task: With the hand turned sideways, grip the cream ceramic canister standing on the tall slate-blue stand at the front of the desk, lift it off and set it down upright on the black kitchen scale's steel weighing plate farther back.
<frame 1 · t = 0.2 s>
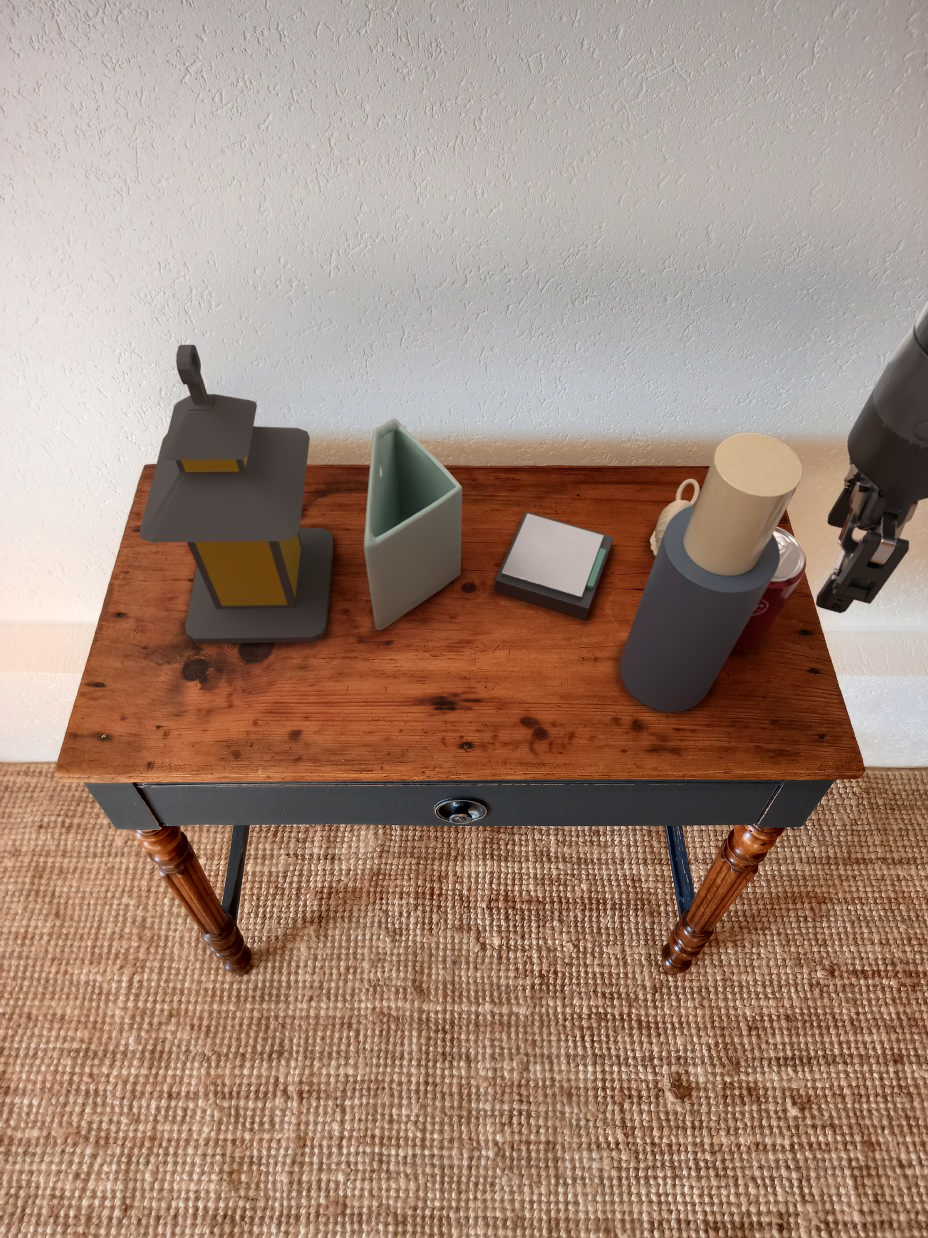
hand: (834, 563, 63), 19 cm above the table, tool pointing down, fingers open, 8 cm apart
lantern: (263, 587, 85), on the table
planter: (423, 571, 86), on the table
stand: (664, 671, 79), on the table
soda can: (729, 624, 83), on the table
decorative ornament: (673, 540, 89), on the table
scale: (553, 570, 86), on the table
canister: (721, 545, 63), point 20 cm above the table, touching stand
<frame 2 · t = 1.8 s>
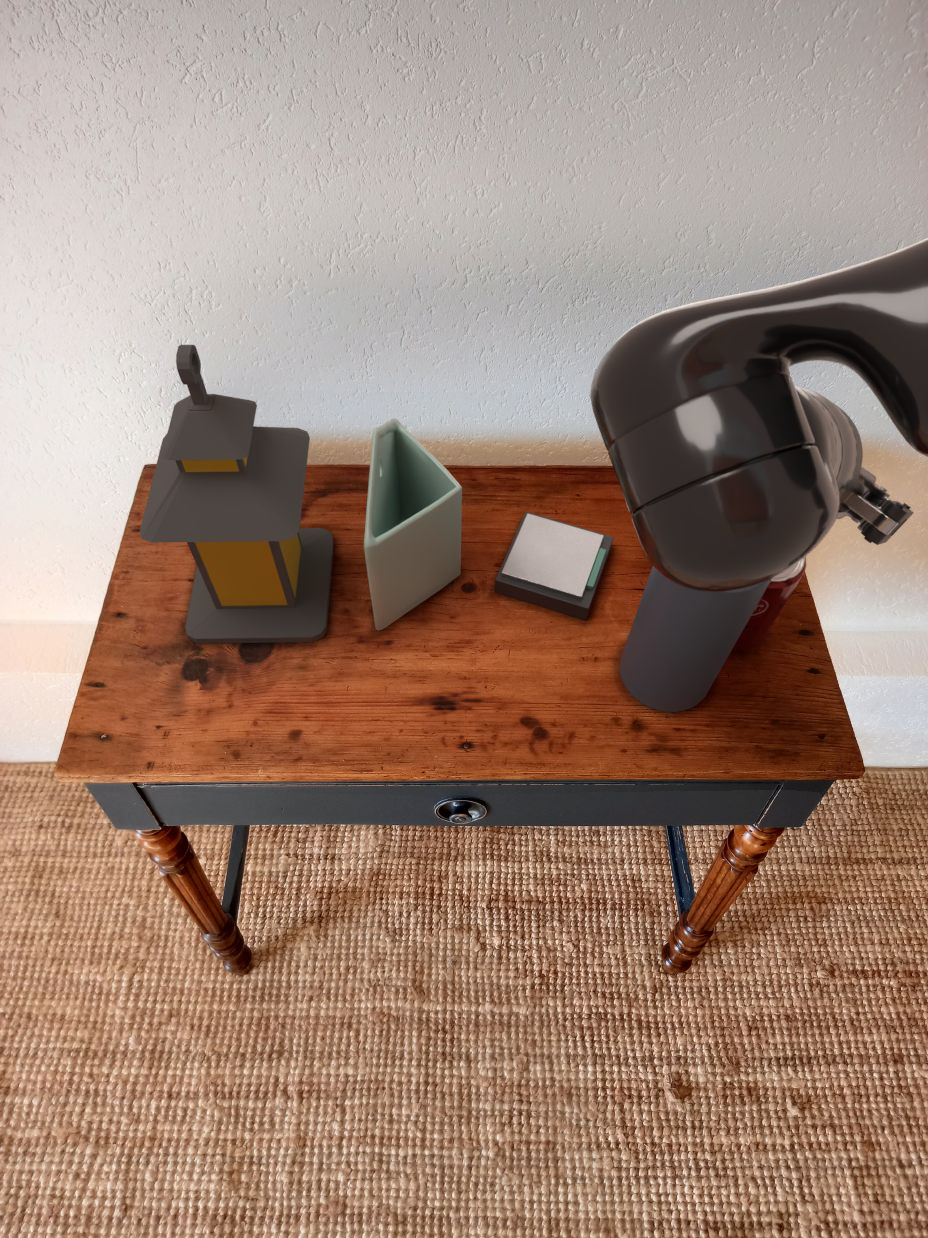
hand: (818, 462, 58), 27 cm above the table, tool tilted 50°, fingers open, 8 cm apart
canister: (723, 541, 62), point 20 cm above the table, tilted 9°, touching gripper, stand
everything else where it was.
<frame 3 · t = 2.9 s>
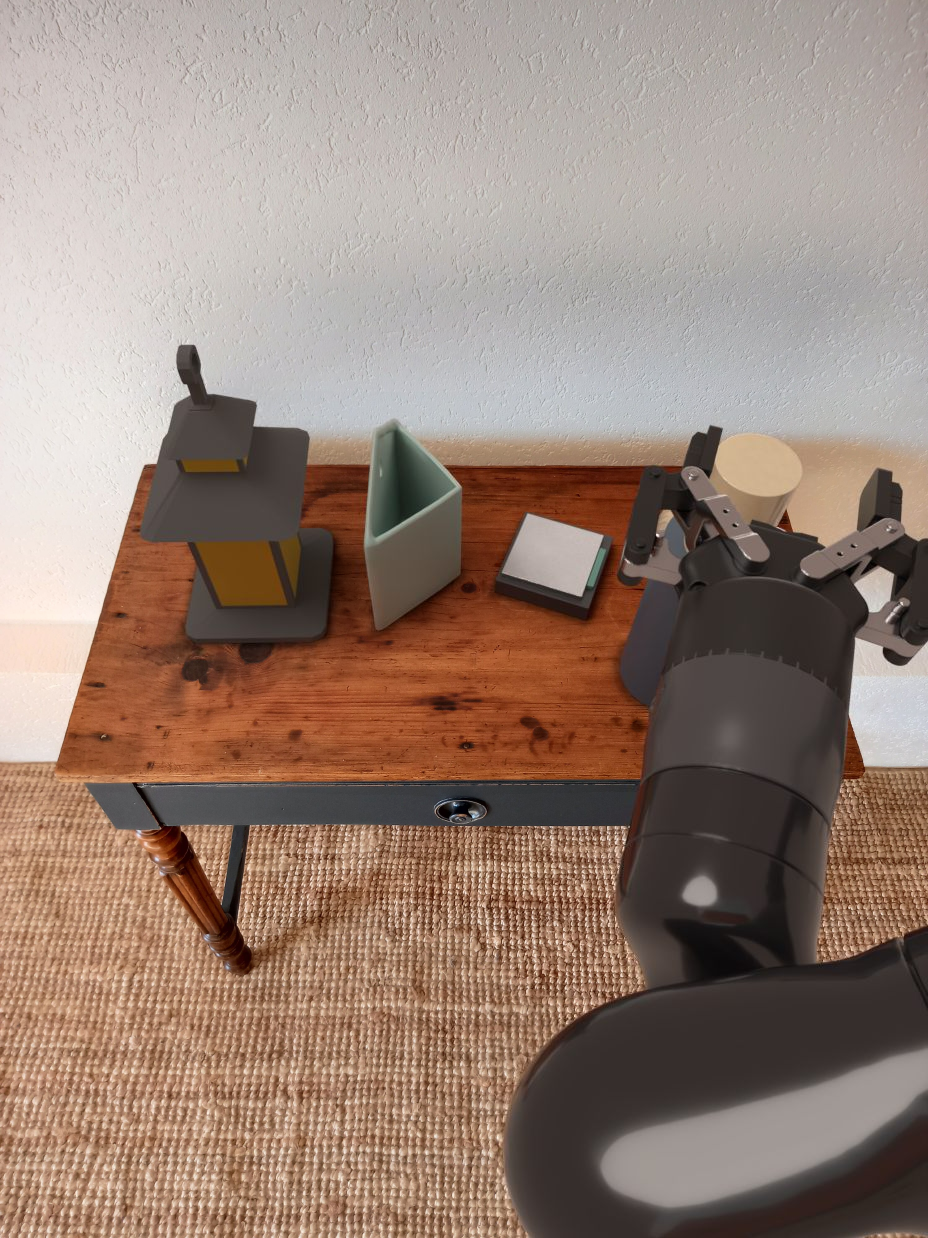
hand: (792, 458, 42), 39 cm above the table, tool horizontal, fingers open, 8 cm apart
canister: (721, 545, 63), point 20 cm above the table, touching stand
everything else where it was.
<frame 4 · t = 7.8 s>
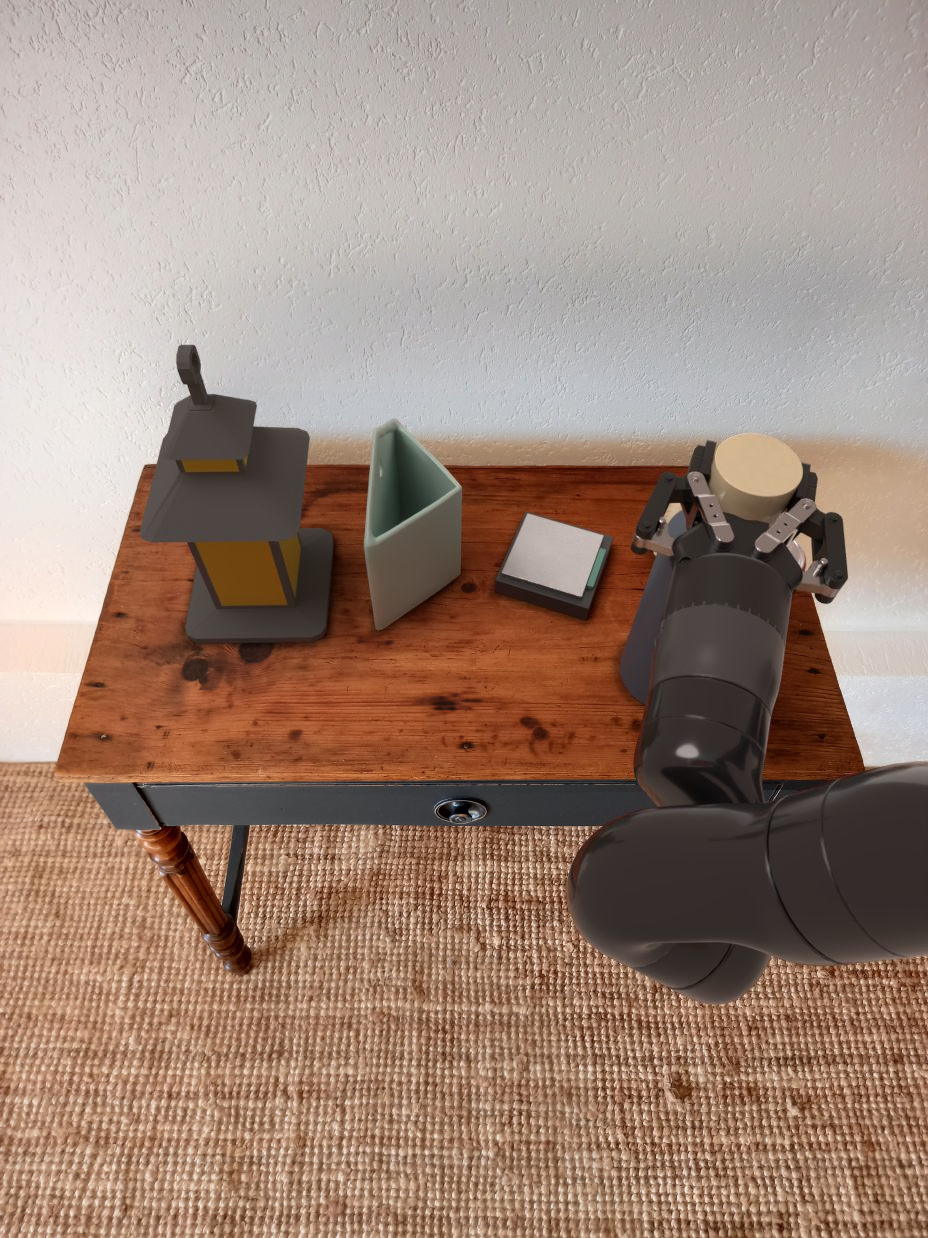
hand: (753, 460, 58), 27 cm above the table, tool horizontal, fingers closed on canister, 6 cm apart
canister: (721, 545, 63), point 20 cm above the table, touching gripper, stand
everything else where it was.
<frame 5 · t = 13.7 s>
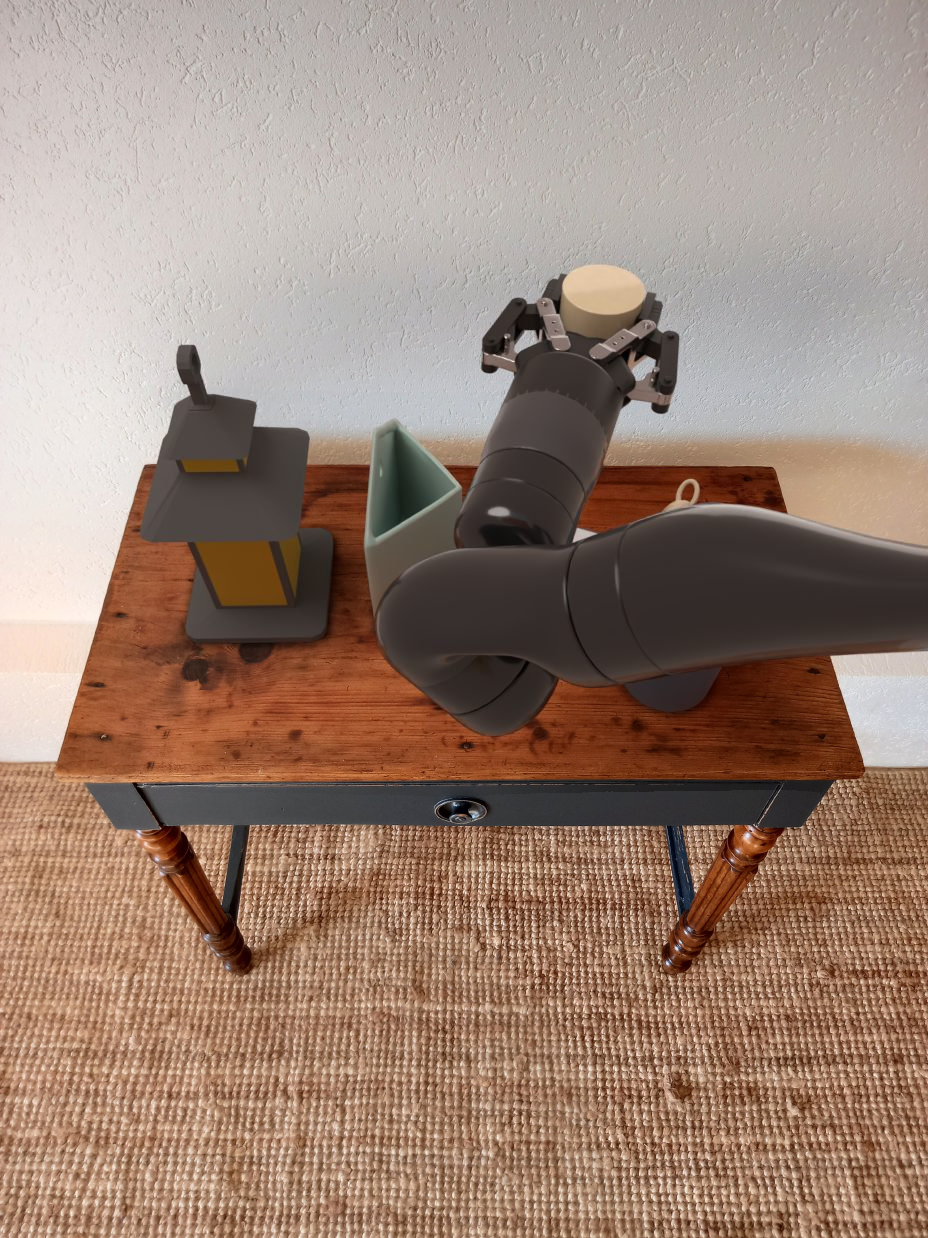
hand: (606, 293, 61), 32 cm above the table, tool horizontal, fingers closed on canister, 6 cm apart
canister: (585, 387, 65), point 25 cm above the table, touching gripper
everything else where it was.
when the fingers open (10 cm above the table, at t = 19.9 s): canister stays where it is, resting on scale.
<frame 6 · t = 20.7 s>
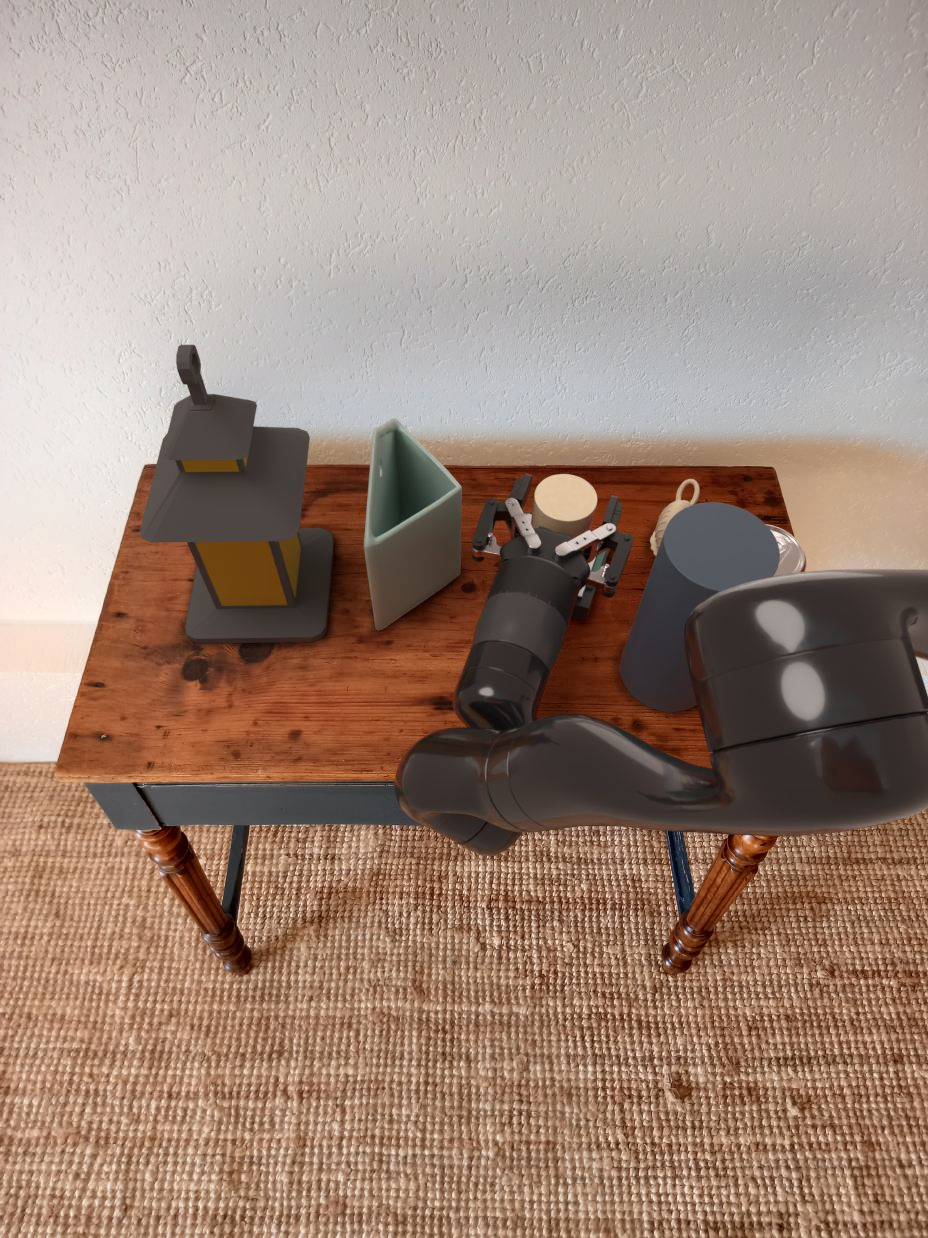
hand: (570, 490, 78), 11 cm above the table, tool horizontal, fingers open, 8 cm apart
canister: (555, 555, 84), point 3 cm above the table, touching scale
everything else where it was.
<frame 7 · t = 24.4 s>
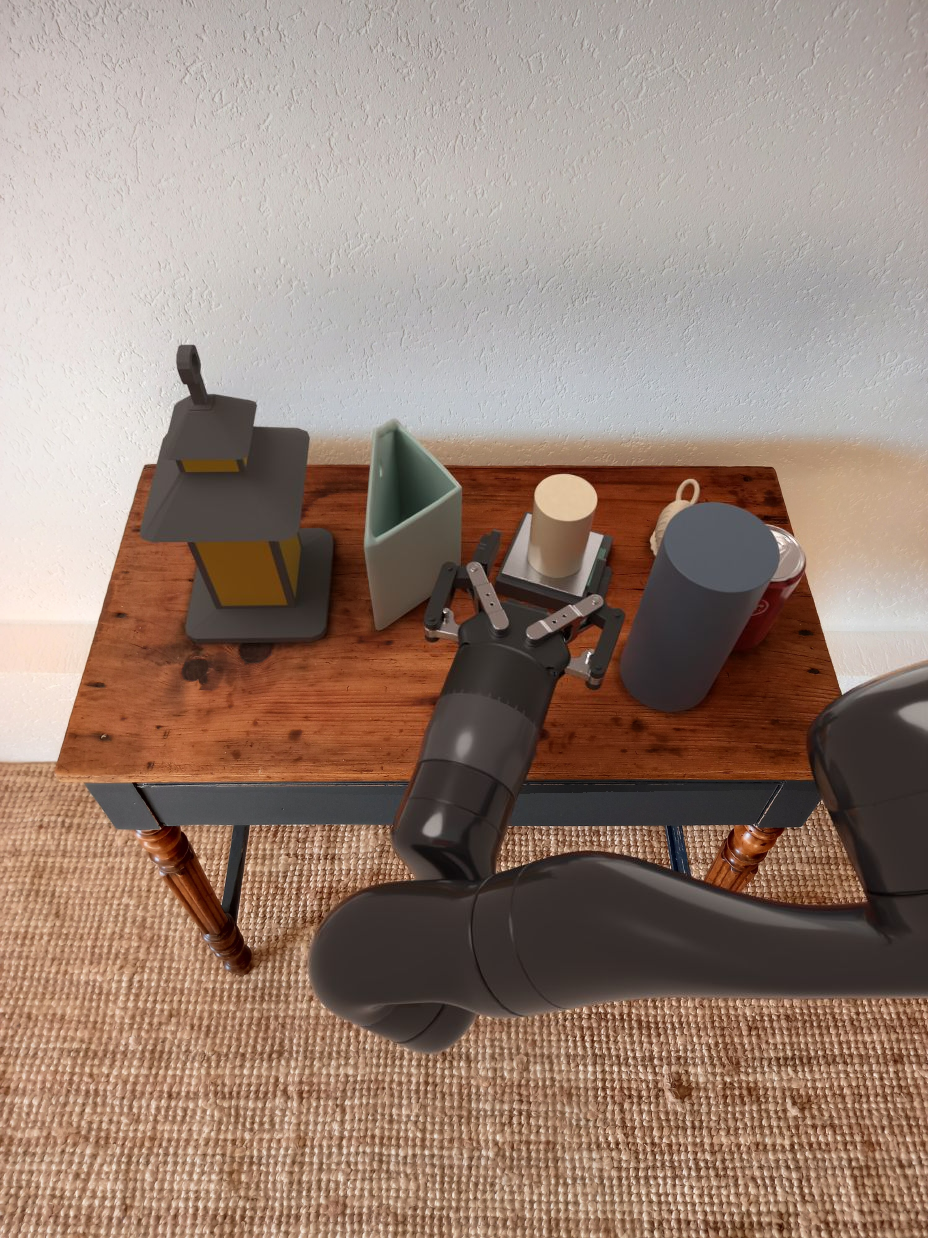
hand: (548, 550, 63), 19 cm above the table, tool horizontal, fingers open, 8 cm apart
nothing on the table moved.
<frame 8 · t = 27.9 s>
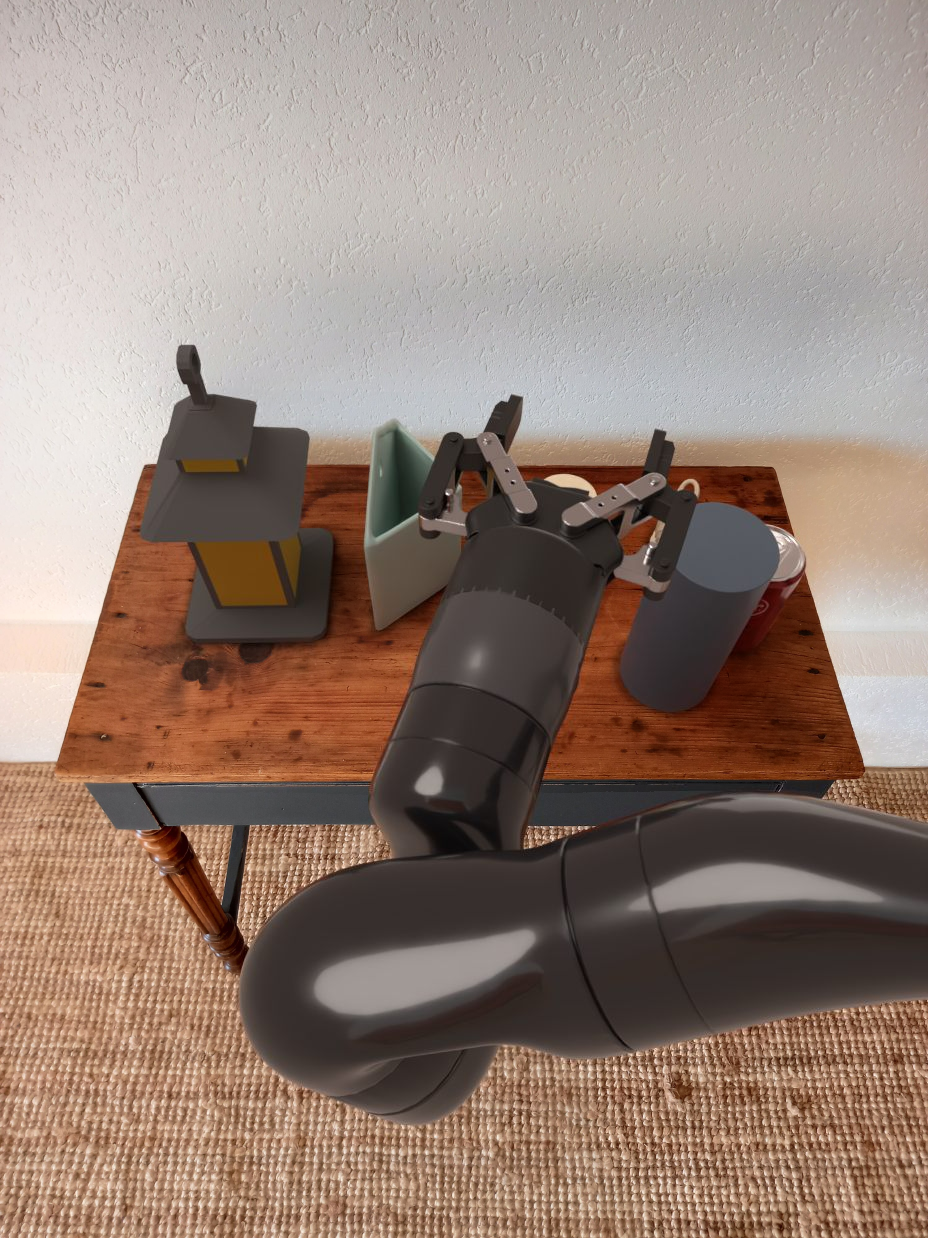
hand: (585, 422, 47), 36 cm above the table, tool horizontal, fingers open, 8 cm apart
nothing on the table moved.
at the end: canister inside the target area on the scale (0.3 cm from its centre), point 2.8 cm above the scale's base; canister tilted 0°; the gripper is holding nothing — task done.
